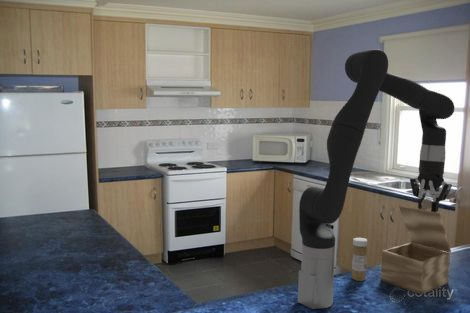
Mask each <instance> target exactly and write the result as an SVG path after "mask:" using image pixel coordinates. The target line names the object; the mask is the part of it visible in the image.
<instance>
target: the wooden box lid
mask: <svg viewBox="0 0 470 313" xmlns="http://www.w3.org/2000/svg"><path fill="white" fill-rule="evenodd" d="M432 202H433V199H432V198H424V200H423V201H422V203H421V205H422V208H421V209H419V208H416V207H410V206H405V205H399V206H398V208H399V211H400V215H401V216H402V220H403V222H404V226H405V229H406V231H407V233H408V236H409V239H410V243H416V244H419V245H423V246H427V247H430V248H433V249H437V250H441V251H444V252H448V253H450V254H451V253H452V249H451V246H450V242H449V239H448V237H447V236H448V235H447V233H446V229H445V226H444V223H443V219H442V217H441V213H439V212H431V207H432Z"/></svg>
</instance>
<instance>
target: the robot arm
mask: <svg viewBox="0 0 470 313" xmlns="http://www.w3.org/2000/svg"><path fill="white" fill-rule="evenodd" d="M388 69H389V58H388V56H387V54H386V52H385V51H384V50H382V49H379V48H375V49H374V48H372V49H367V50H362V51H358V52H355V53H353V54H351V55H349V56H348V58H347V59H346V60H345V64H344V71H345V74H346V76H347V77H348V79H349V80H350V81H351V82H353V83H355V84H356V85H355V88H354V90H353V93H352V95H351V96H350V98H349V99H348V100H347V101H346V102H345V104H344V105H343V106H342V108H341V109H340V110H339V111H338V112H337V114H336V115H335V117H334V119H333V121H332V122H331V127H330V130H329V132H328V136H327V139H326V151H327V157H328V162H329V163H328V165H329V170H328V172H329V173H328V177H327V180H326V183H325V186H324V188H322V187H318V186H310V187H307V188H306V189H305V190H304V191H303V192H302V194H301V196H300V199H299V205H298V206H299V208H298V210H299V211H298V213H299V214H298V215H299V220H298V221H299V234H300V236H301V269H300V270H298V282H297V283H298V284H297V285H298V287H297V303H299V304H301V305H303V306H305V307H308V308H309V309H311V310H315V309H327V308H330V307H332V306H333V304H334V303H333V302H334V283H335V282H334V281H335V280H334V279H335V278H334V277H335V254H336V253H335V252H336V236H335V234H334V232H332V231H331V230H330V228H329V227H328V226H327V225H331V224H333V223H335V222H336V221H338V219H339V218H340V216H341V214H342V211H343V210H344V205H345V201H346V197H347V192H348V187H349V185H350V184H349V183H350V179H351V175H352V171H353V168H354V165H355V161H356V157H357V156H358V152H359V149H360V147H361V144H362V140H363V137H364V134H365V132H366V131H365V130H366V127H367V124H368V121H369V119H370V116H371V112H372V110H373V107H374V104H375V102H376V99H377V97H378V95H379V92H382V93H384V94H386V95H388V96H390V97H392V98H394V99H396V100H398V101H400V102H402V103H403V104H406V105H407V106H409V107H410V108H412V109H416V110H418V114H419V119H420V125H421V130H422V134H421V135H422V136H421V137H422V138H421V146H420V147H421V148H420V151H419V152H420V153H419V161H418V163H419V164H418V173H419V174H418V176H417V177H415V178H410V179H409V182H410V186H411V187H410V188H411V191H412V194H413V197H416V198H417V199H418V203H417V209H421V208H422V205H421V203H422V201H423V200H424V199H426V197H427V193H428V192H429V191H430V195H431V197H432V198H431V200H432V201H433V202H432V207H431V209H430V211H431V212H436V213H438V211H439V206H440V202H441V201H443V202H444V201H446V199H447V198H448V195H449V193H450V191H451V188H452V186H453V184H452V183H449V182H446V181H445V179H444V173H445V165H446V164H445V162H446V141H447V130H446V128H444V127H443V126H440V125H439V124H438V121H437V120H446V119H448V118H449V119H450V118H451V116H453V115H454V112H455V104H454V102H453V100H452V99H451V98H450V97H449V96H447V95H446V94H442V93H439V92H436V91H434V90H430V89H429V88H426V87H424V86H423V85H421V84H420V83H418V82H416V81H415V80H412V79H410V78H407V77H404V76H401V75H398V74H397V75H396V74H394V73H389V72H388V71H389V70H388ZM419 185H420V186H419ZM440 188H442V189H441V190H440Z"/></svg>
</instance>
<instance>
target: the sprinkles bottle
mask: <svg viewBox="0 0 470 313" xmlns="http://www.w3.org/2000/svg"><path fill="white" fill-rule="evenodd" d="M352 240H353V241H352V246H353V248H352V262H351V263H352V264H351V266H352V267H351V268H352V271H351V274H352V275H351V279H352V280H354V281H357V282H363V281H365V280H366V279H367V278H366V271H367V255H368V254H367V249H368V248H367V247H368V242H369V241H368V239H367V238H366V237H365V238H364V237H353V239H352Z"/></svg>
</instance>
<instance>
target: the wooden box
mask: <svg viewBox="0 0 470 313" xmlns="http://www.w3.org/2000/svg"><path fill="white" fill-rule="evenodd" d="M381 253H382V254H381V271H380V275H381V276H380V281H381V282H384V283H387V284H389V285H392V286H395V287H398V288H401V289H404V290H406V291H409V292H411V293H415V294H417V295H423V294H425V293H427V292H430V291H433V290H435V289H437V288H440V287H442V286H444V285H447V284H449V276H450V274H449V273H450V262H451V261H450V260H451V253H449V252H445V251H442V250H438V249H434V248H430V247H426V246H422V245H419V244H415V243H412V242H408V243H404V244H401V245H397V246H394V247H390V248H387V249H384V250H382V252H381Z"/></svg>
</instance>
